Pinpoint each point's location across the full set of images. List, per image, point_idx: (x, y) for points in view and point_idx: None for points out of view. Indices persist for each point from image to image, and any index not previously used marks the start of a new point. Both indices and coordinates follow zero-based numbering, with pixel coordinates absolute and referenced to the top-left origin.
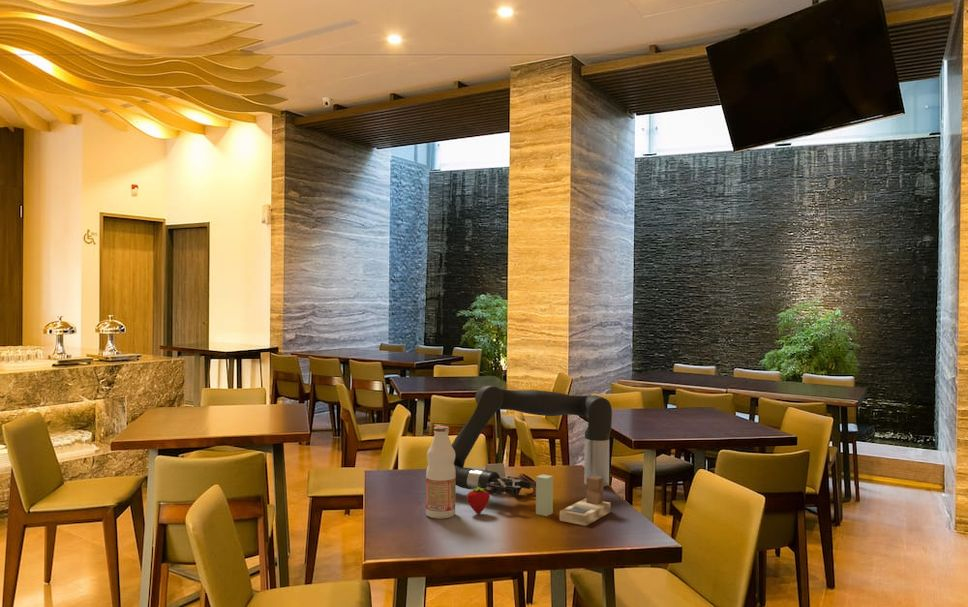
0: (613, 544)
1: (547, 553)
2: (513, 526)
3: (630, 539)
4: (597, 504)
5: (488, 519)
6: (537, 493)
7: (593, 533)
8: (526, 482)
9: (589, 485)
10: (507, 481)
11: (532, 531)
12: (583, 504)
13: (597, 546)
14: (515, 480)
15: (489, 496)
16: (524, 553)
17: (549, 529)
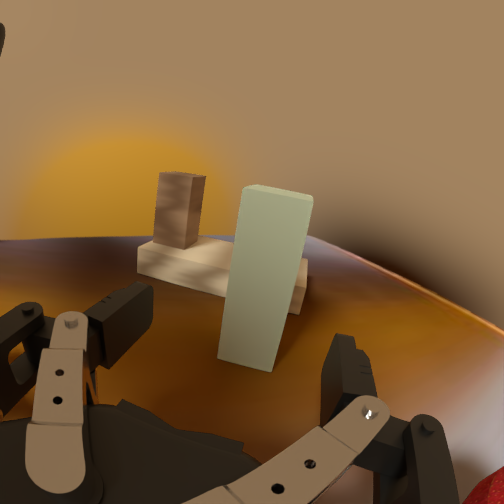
0: (361, 265)
1: (466, 310)
2: (442, 388)
3: (324, 253)
4: (197, 241)
5: (464, 482)
6: (293, 285)
7: (336, 276)
8: (139, 297)
9: (193, 197)
10: (134, 429)
11: (426, 345)
12: (206, 254)
13: (386, 275)
14: (85, 351)
15: (482, 482)
16: (495, 327)
17: (383, 324)
